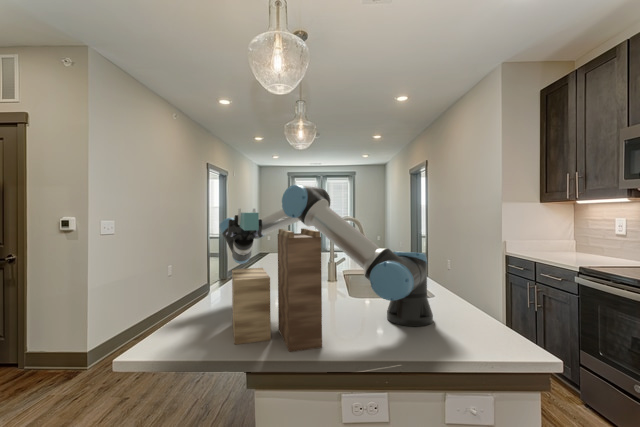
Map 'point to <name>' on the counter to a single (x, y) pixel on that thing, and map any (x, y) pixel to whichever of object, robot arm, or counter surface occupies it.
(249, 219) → the bar
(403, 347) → the counter surface
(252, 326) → the wooden toy block
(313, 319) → the chute stand
